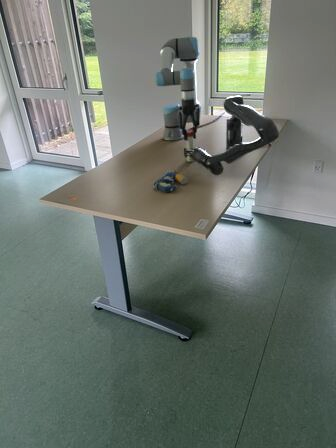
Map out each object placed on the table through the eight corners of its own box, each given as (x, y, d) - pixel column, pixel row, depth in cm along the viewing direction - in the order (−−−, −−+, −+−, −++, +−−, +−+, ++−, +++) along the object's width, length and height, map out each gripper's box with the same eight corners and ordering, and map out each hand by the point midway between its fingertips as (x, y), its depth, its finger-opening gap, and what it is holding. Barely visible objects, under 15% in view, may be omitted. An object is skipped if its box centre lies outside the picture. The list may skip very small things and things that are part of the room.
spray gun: (192, 178, 182) (167, 175, 189) (191, 170, 180) (167, 168, 186) (176, 195, 167) (150, 192, 173) (175, 187, 165) (149, 184, 171)
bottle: (190, 162, 204) (189, 133, 195) (185, 160, 207) (184, 132, 198) (196, 160, 206) (195, 132, 197) (191, 158, 209) (190, 130, 200)
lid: (196, 135, 198) (196, 130, 197) (189, 137, 195) (189, 133, 194) (189, 133, 202) (189, 129, 201) (183, 135, 199) (183, 131, 198)
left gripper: (199, 95, 193) (200, 134, 206) (170, 100, 188) (173, 140, 200) (205, 96, 187) (206, 137, 200) (176, 102, 182) (178, 143, 194)
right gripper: (190, 165, 192) (178, 156, 205) (212, 160, 196) (199, 152, 209) (189, 153, 188) (177, 145, 202) (212, 148, 192) (198, 140, 206)
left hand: (189, 139), depth 200 cm, fingers closed on lid, 5 cm apart
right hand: (188, 148), depth 205 cm, fingers closed on bottle, 4 cm apart
